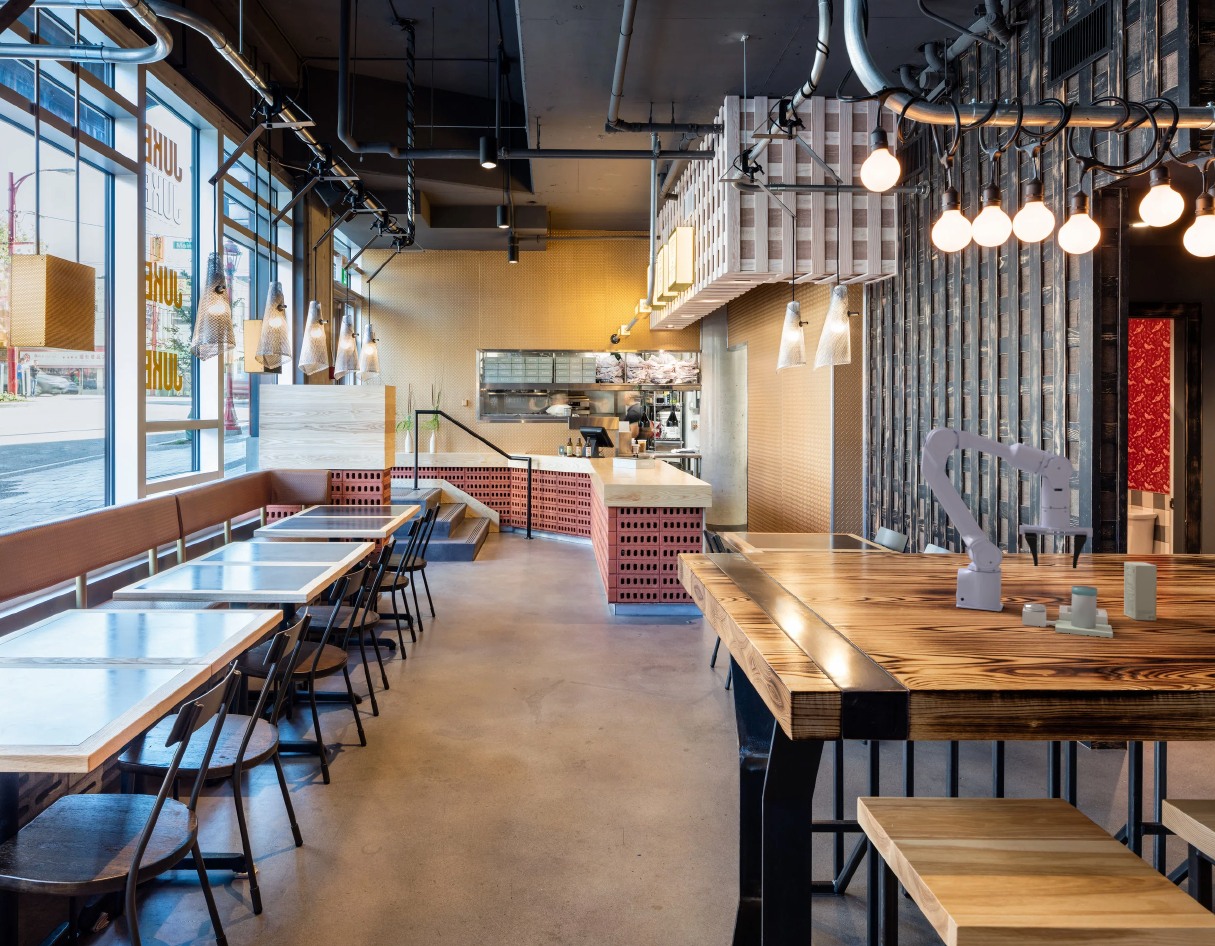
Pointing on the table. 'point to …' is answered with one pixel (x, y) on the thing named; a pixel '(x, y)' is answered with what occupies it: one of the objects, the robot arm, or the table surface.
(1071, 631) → the pad
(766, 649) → the table surface
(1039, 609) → the plunger
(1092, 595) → the cartridge
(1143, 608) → the skincare box
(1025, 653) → the table surface
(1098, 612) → the holder
